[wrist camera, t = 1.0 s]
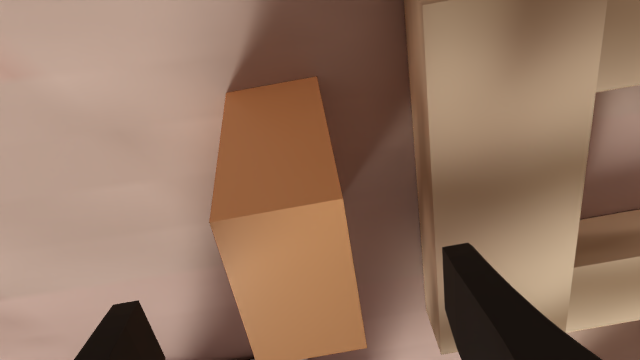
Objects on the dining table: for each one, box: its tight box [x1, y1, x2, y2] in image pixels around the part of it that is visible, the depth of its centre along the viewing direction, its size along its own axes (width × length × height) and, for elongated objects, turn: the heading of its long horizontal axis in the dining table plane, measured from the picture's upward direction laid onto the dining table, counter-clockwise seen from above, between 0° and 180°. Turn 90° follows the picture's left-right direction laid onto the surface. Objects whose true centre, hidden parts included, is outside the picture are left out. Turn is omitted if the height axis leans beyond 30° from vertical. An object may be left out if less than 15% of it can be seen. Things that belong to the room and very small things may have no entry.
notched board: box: [404, 0, 640, 355], centre depth 20 cm, size 14×11×2 cm
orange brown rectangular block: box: [209, 76, 367, 360], centre depth 17 cm, size 5×3×7 cm, turn 9°
